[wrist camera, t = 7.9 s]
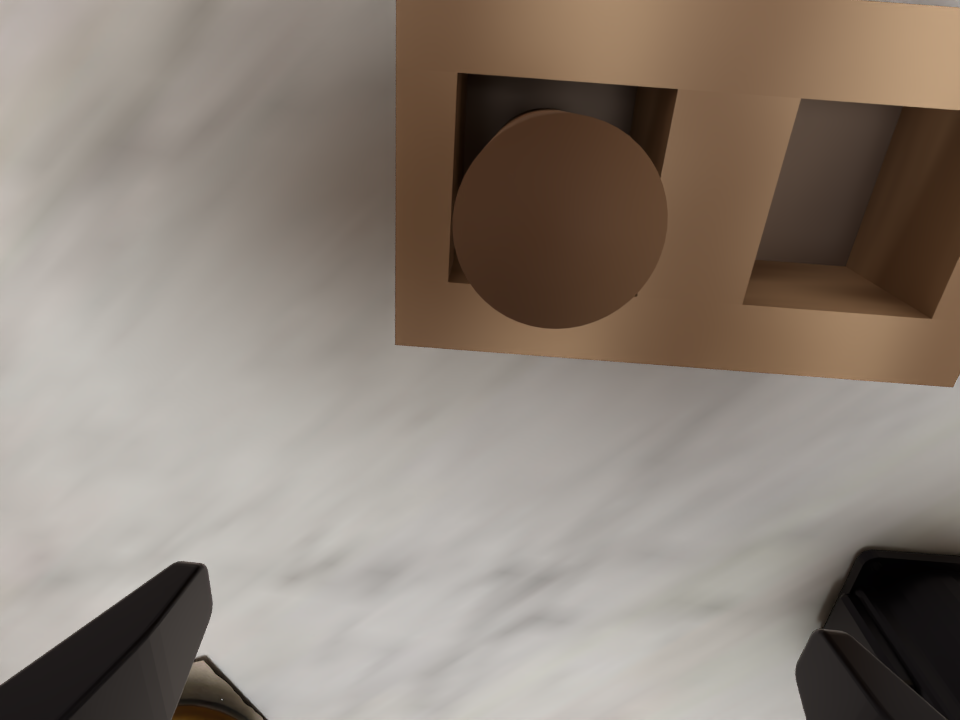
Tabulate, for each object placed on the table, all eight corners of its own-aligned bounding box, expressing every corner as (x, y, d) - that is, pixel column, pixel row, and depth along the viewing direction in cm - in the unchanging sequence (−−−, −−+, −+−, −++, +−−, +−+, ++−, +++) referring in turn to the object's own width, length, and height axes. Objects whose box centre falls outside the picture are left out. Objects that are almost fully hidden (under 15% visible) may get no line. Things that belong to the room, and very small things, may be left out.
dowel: (605, 114, 16) (691, 127, 8) (585, 226, 17) (642, 340, 9) (493, 102, 16) (462, 101, 8) (482, 214, 17) (444, 316, 9)
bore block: (954, 31, 16) (1132, 20, 11) (849, 311, 19) (952, 387, 15) (426, -9, 16) (396, -35, 11) (420, 278, 19) (395, 344, 15)
